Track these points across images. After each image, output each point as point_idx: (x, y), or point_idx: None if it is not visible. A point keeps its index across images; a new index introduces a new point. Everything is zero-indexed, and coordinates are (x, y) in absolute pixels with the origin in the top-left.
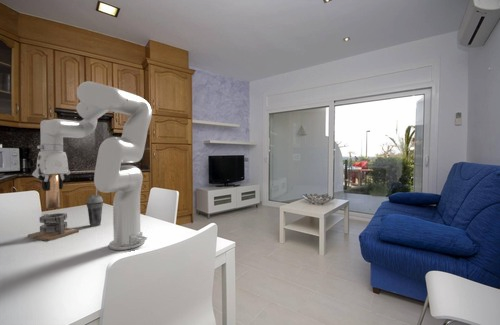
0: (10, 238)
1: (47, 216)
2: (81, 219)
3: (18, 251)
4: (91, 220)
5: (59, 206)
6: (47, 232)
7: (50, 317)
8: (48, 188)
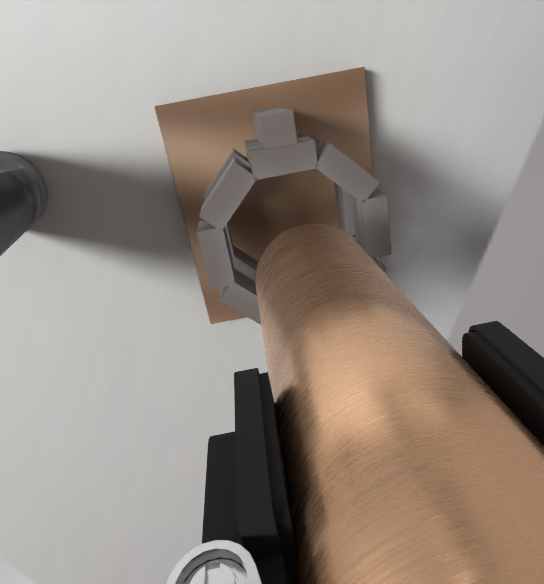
0: None
1: None
2: (39, 426)
3: (530, 11)
4: (20, 178)
5: (263, 254)
6: None
7: None
8: (501, 337)
